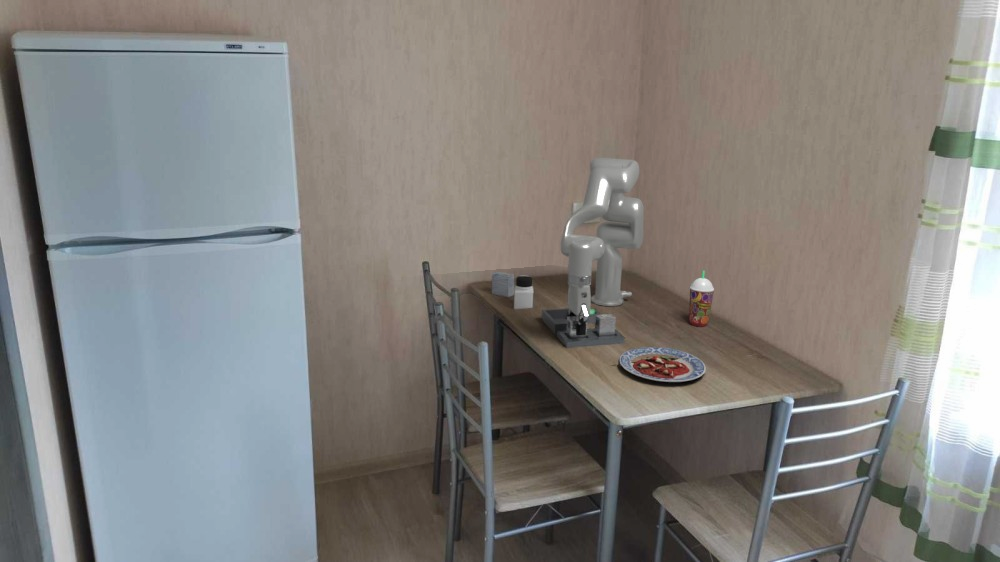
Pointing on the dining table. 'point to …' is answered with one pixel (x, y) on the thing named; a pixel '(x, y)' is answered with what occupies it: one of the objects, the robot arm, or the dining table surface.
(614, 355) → the dining table surface
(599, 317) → the billet
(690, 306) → the smoothie
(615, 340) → the pallet
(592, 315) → the button housing
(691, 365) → the ceramic plate
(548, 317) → the tote
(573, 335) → the billet
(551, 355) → the dining table surface
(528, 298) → the medicine bottle
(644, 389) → the dining table surface
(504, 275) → the medicine box
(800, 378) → the dining table surface
